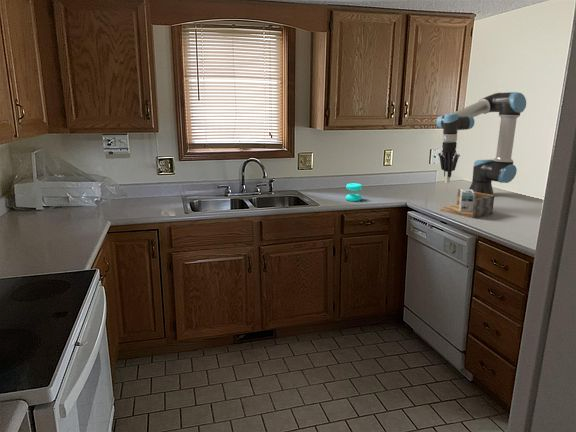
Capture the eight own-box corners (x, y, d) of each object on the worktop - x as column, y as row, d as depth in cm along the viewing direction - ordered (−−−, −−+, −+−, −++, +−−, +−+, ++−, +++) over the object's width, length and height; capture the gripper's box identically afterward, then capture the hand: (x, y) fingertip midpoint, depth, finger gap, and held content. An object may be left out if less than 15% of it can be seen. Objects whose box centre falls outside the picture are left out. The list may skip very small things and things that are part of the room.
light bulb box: (473, 212, 238) (475, 192, 236) (460, 211, 240) (461, 192, 238) (471, 208, 248) (473, 189, 246) (458, 207, 250) (460, 188, 247)
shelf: (457, 206, 258) (459, 189, 255) (492, 214, 241) (494, 195, 238) (440, 210, 249) (441, 192, 247) (474, 218, 232) (476, 198, 229)
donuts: (359, 182, 280) (364, 185, 271) (358, 198, 283) (363, 201, 273) (344, 183, 279) (348, 186, 269) (343, 198, 281) (348, 202, 272)
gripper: (435, 141, 253) (433, 181, 260) (455, 142, 243) (452, 184, 249) (444, 140, 257) (441, 180, 264) (463, 141, 247) (461, 183, 253)
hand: (447, 182), depth 256 cm, fingers closed
